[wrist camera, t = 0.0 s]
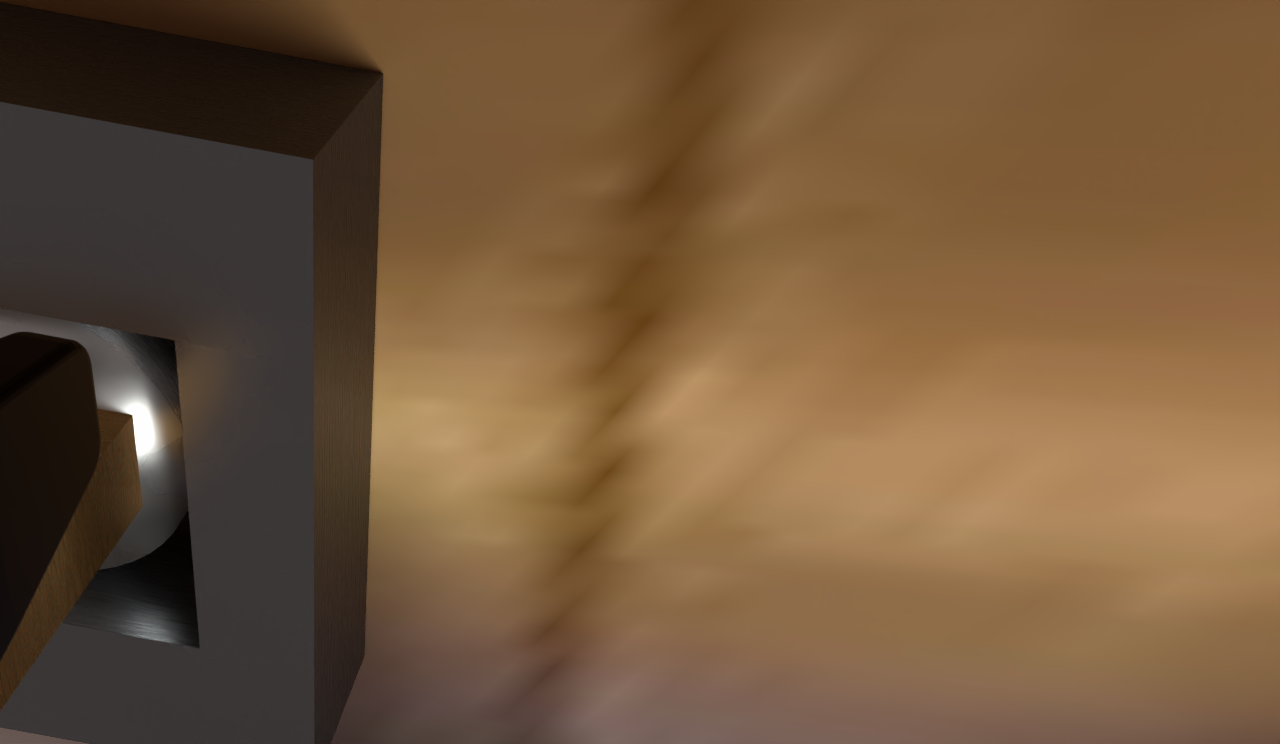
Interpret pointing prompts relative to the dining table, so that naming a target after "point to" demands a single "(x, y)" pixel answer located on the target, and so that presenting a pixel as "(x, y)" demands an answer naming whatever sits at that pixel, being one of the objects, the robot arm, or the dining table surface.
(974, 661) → the dining table surface
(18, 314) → the grey round brown-barred piece
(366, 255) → the housing
